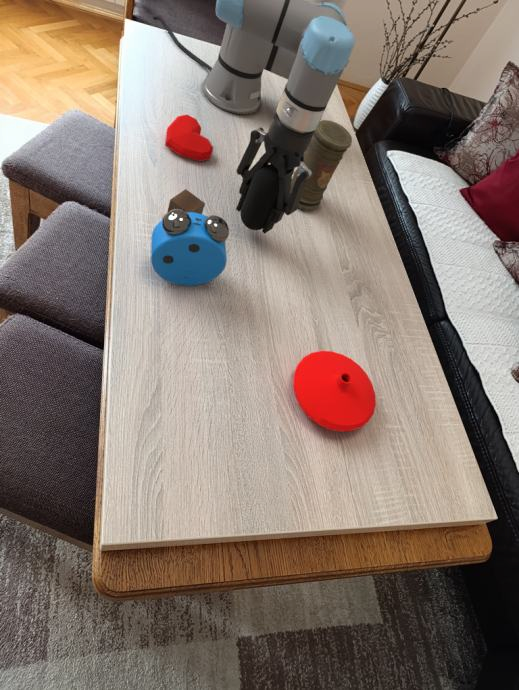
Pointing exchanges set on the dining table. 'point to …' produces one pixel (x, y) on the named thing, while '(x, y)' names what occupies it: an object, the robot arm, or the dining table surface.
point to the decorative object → (260, 197)
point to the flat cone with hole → (334, 391)
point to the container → (322, 161)
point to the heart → (188, 139)
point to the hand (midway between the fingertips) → (254, 218)
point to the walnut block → (186, 203)
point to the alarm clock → (189, 247)
